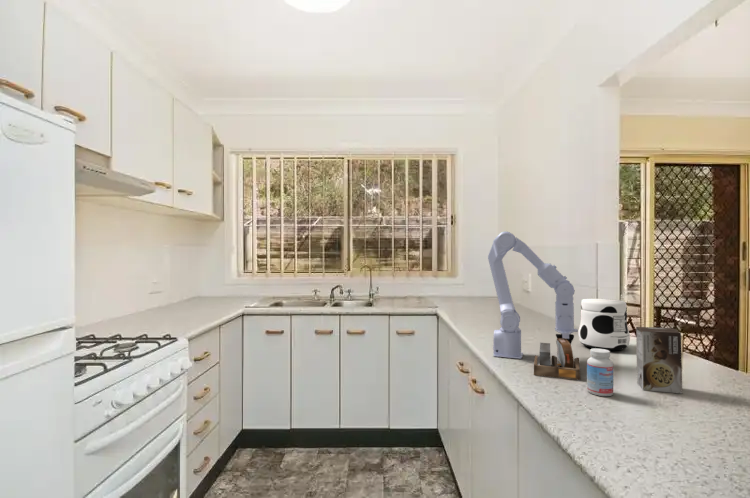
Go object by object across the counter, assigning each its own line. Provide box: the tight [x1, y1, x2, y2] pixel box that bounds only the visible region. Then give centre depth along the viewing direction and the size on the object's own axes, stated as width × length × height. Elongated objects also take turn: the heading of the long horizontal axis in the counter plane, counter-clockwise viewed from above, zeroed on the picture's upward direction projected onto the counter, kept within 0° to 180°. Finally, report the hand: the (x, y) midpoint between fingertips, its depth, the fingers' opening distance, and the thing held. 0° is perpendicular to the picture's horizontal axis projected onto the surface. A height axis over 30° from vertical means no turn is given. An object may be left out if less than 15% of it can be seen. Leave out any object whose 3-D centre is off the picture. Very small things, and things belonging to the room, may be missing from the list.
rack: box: [533, 342, 581, 381], centre depth 129 cm, size 13×16×7 cm
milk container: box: [577, 298, 631, 351], centre depth 158 cm, size 17×17×18 cm
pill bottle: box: [586, 348, 614, 397], centre depth 109 cm, size 6×6×11 cm
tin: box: [555, 338, 574, 368], centre depth 133 cm, size 15×3×8 cm, turn 165°
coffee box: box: [635, 326, 683, 394], centre depth 112 cm, size 9×6×16 cm
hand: (565, 355), depth 140 cm, fingers closed
